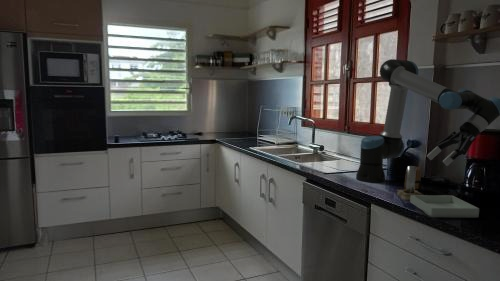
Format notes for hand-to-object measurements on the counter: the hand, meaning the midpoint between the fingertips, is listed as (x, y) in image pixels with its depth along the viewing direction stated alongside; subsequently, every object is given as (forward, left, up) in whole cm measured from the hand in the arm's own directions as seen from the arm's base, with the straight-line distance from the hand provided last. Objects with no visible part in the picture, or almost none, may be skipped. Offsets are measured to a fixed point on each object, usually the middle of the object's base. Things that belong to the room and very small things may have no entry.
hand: (436, 160), depth 160 cm
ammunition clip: (-13, -4, -17) cm, 22 cm away
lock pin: (0, -11, -17) cm, 20 cm away
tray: (+16, -5, -17) cm, 24 cm away
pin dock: (0, -11, -17) cm, 20 cm away
